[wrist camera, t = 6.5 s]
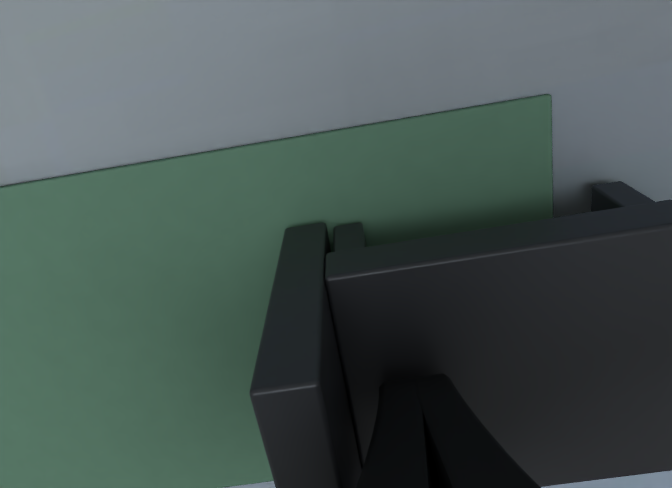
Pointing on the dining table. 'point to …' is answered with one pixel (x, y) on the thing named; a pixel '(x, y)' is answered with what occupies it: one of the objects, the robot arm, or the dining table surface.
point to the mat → (213, 282)
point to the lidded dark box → (477, 340)
